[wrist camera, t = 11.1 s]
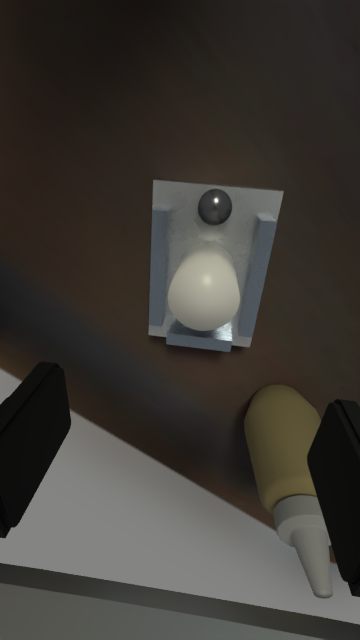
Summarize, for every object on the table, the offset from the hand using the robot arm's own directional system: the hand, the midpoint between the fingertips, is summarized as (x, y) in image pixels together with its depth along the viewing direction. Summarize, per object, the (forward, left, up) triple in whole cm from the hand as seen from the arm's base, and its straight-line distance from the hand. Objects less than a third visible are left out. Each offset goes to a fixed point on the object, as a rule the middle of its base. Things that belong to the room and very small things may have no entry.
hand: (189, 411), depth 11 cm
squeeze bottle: (+16, +10, -20) cm, 28 cm away
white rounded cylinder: (0, 0, -17) cm, 17 cm away
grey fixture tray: (0, 0, -20) cm, 20 cm away
